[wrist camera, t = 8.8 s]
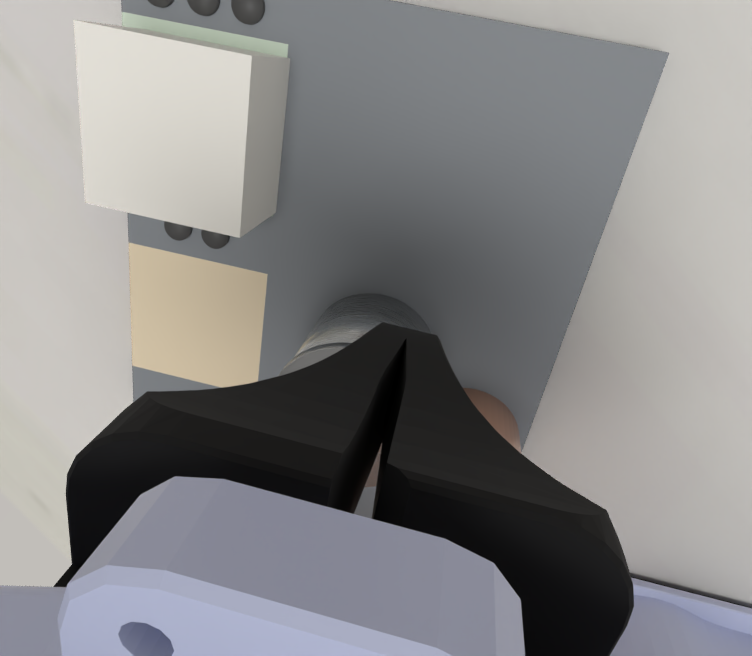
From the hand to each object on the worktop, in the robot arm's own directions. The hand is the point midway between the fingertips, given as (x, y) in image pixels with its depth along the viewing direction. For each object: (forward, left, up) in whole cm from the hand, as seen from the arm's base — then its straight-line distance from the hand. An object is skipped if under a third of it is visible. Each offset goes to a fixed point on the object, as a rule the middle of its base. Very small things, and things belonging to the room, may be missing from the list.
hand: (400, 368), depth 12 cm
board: (+3, +4, -7) cm, 8 cm away
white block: (+7, -3, -6) cm, 10 cm away
